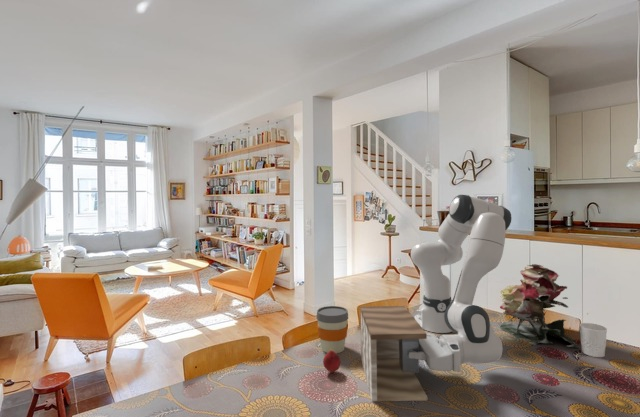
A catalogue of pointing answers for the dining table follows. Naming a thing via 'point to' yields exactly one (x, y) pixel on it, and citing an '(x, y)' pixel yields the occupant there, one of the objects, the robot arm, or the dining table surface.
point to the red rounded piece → (331, 361)
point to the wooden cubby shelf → (388, 353)
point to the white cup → (593, 339)
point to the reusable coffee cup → (332, 328)
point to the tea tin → (404, 361)
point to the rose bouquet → (534, 306)
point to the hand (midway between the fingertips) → (405, 350)
